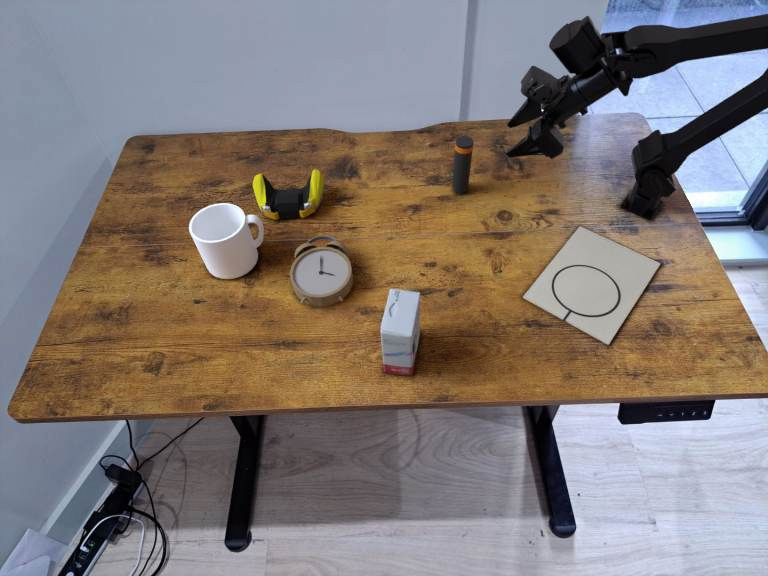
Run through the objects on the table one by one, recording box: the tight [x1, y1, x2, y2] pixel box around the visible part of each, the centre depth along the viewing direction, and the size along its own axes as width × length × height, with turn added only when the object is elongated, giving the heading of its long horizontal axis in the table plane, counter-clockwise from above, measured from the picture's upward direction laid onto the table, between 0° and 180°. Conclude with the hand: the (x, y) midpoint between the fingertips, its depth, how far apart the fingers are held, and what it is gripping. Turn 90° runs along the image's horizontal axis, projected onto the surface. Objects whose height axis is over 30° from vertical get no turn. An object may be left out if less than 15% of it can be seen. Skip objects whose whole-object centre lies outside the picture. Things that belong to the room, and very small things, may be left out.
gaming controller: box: [252, 168, 326, 221], centre depth 106 cm, size 15×6×10 cm
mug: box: [188, 202, 265, 280], centre depth 95 cm, size 13×10×10 cm
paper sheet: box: [522, 226, 661, 346], centre depth 92 cm, size 22×16×1 cm
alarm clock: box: [289, 234, 354, 307], centre depth 94 cm, size 11×5×15 cm
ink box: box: [380, 288, 421, 377], centre depth 80 cm, size 9×5×12 cm, turn 168°
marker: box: [451, 135, 474, 195], centre depth 104 cm, size 4×4×12 cm
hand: (507, 140), depth 97 cm, fingers open, 9 cm apart
